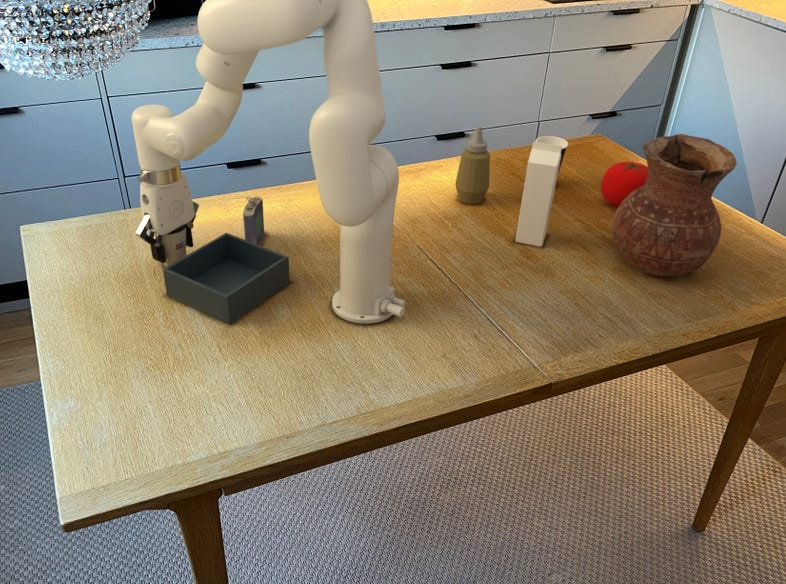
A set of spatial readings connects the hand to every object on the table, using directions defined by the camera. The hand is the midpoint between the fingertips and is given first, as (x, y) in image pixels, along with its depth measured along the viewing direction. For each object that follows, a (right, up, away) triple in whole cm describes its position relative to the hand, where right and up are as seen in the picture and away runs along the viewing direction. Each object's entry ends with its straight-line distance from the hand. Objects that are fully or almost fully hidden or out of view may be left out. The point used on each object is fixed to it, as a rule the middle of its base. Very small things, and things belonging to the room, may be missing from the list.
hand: (173, 252), depth 157 cm
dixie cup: (+85, +22, +35) cm, 95 cm away
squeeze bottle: (+65, +17, +28) cm, 73 cm away
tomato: (+102, +15, +28) cm, 107 cm away
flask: (+16, +3, +9) cm, 18 cm away
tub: (+13, -8, -6) cm, 16 cm away
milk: (+77, +5, +13) cm, 78 cm away
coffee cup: (0, -2, +2) cm, 3 cm away
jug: (+102, -1, +7) cm, 102 cm away
